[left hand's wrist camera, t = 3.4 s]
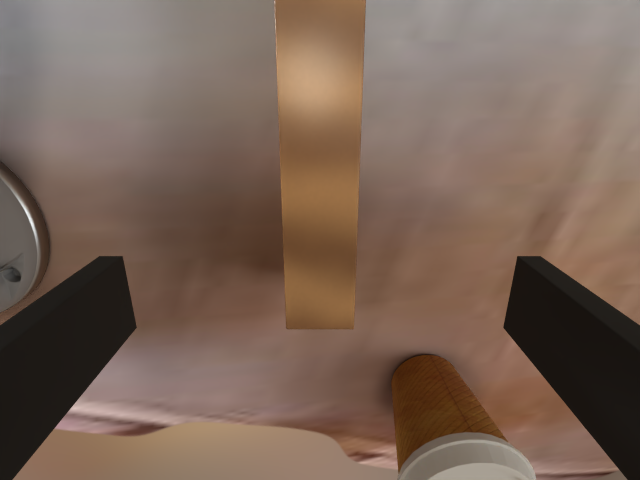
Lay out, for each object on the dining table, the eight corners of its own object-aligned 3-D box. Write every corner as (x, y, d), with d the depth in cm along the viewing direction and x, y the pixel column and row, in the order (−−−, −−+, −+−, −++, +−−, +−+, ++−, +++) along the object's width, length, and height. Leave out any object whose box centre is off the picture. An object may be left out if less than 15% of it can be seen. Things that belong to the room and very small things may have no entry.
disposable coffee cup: (435, 433, 38) (484, 573, 27) (355, 396, 36) (371, 528, 25) (495, 366, 35) (578, 491, 24) (411, 323, 33) (458, 435, 22)
